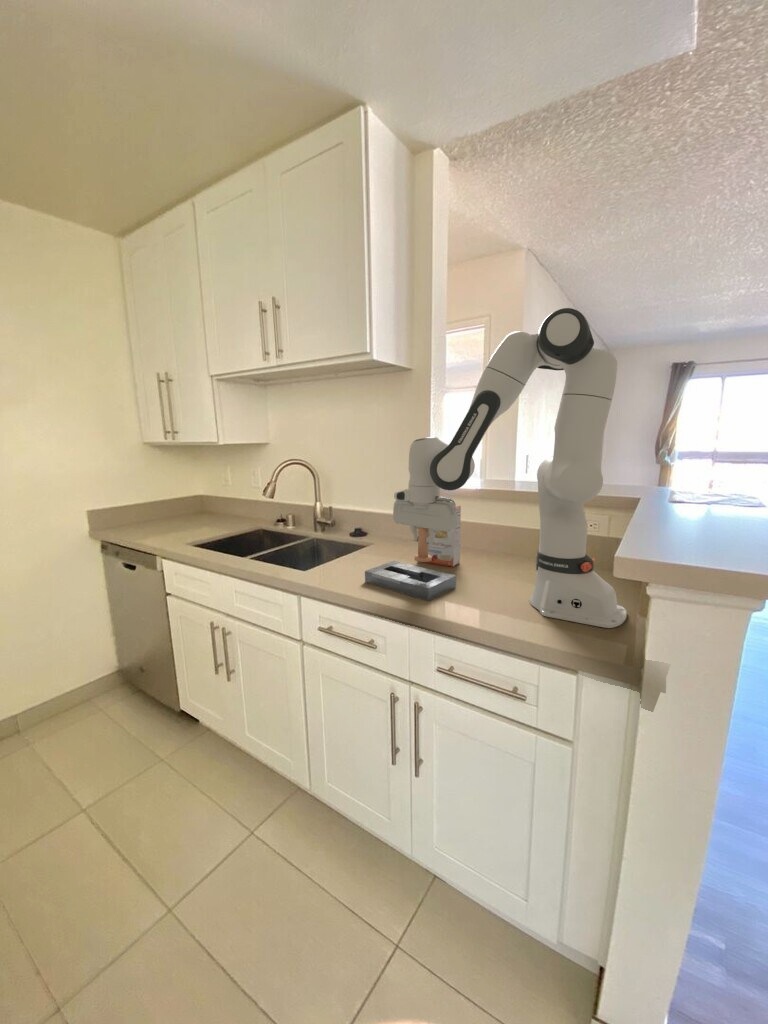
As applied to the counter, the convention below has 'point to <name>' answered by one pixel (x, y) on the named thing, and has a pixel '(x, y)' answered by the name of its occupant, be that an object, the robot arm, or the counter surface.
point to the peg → (423, 546)
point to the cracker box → (447, 545)
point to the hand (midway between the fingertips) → (423, 542)
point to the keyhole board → (411, 580)
